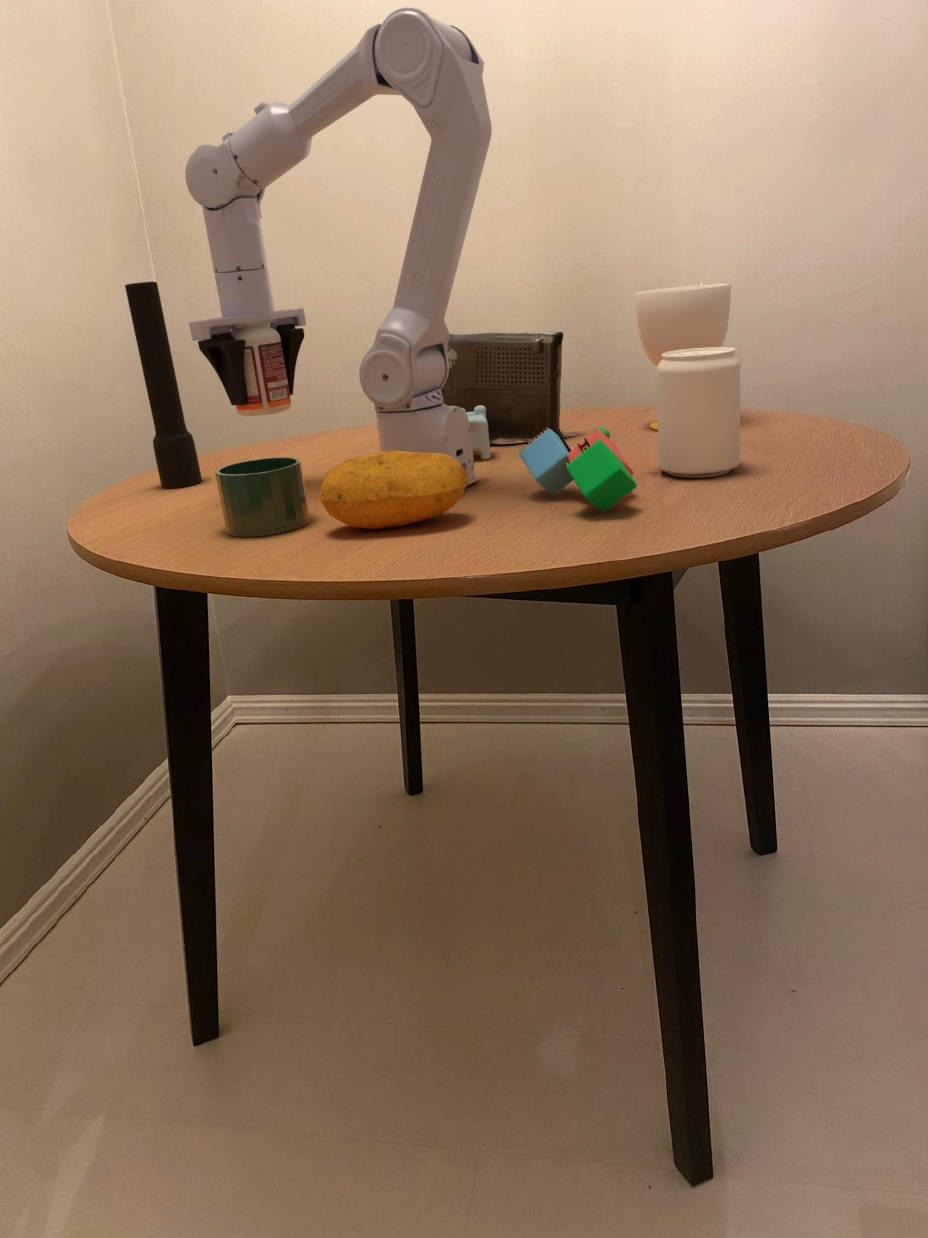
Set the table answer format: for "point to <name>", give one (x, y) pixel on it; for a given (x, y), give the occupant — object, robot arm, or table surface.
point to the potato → (392, 488)
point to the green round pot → (263, 496)
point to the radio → (507, 381)
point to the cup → (682, 319)
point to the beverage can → (699, 411)
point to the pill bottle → (263, 370)
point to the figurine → (479, 431)
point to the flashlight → (162, 389)
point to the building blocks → (580, 466)
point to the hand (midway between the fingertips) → (263, 399)
